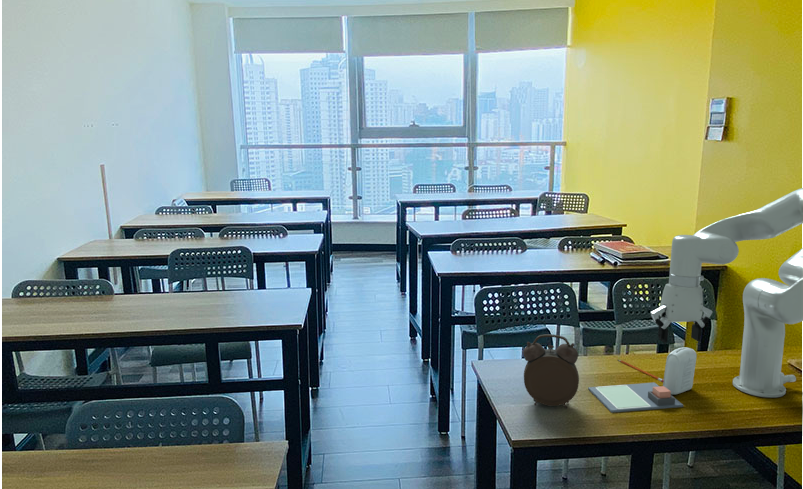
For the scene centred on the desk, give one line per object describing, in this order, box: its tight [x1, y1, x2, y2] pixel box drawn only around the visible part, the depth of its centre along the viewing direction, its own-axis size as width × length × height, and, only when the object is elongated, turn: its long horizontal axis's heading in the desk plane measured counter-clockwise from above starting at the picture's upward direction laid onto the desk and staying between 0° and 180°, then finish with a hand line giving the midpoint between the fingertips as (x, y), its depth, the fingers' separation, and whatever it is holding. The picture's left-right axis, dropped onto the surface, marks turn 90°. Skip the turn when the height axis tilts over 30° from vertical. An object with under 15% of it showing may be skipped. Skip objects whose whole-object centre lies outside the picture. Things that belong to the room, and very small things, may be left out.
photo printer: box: [662, 347, 698, 396], centre depth 154 cm, size 10×4×12 cm, turn 124°
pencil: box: [617, 359, 664, 383], centre depth 169 cm, size 1×19×1 cm, turn 23°
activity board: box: [587, 382, 684, 413], centre depth 151 cm, size 20×14×2 cm
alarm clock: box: [522, 333, 580, 409], centre depth 148 cm, size 15×7×20 cm, turn 74°
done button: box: [653, 385, 672, 398], centre depth 148 cm, size 3×3×2 cm
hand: (679, 340), depth 152 cm, fingers open, 9 cm apart
